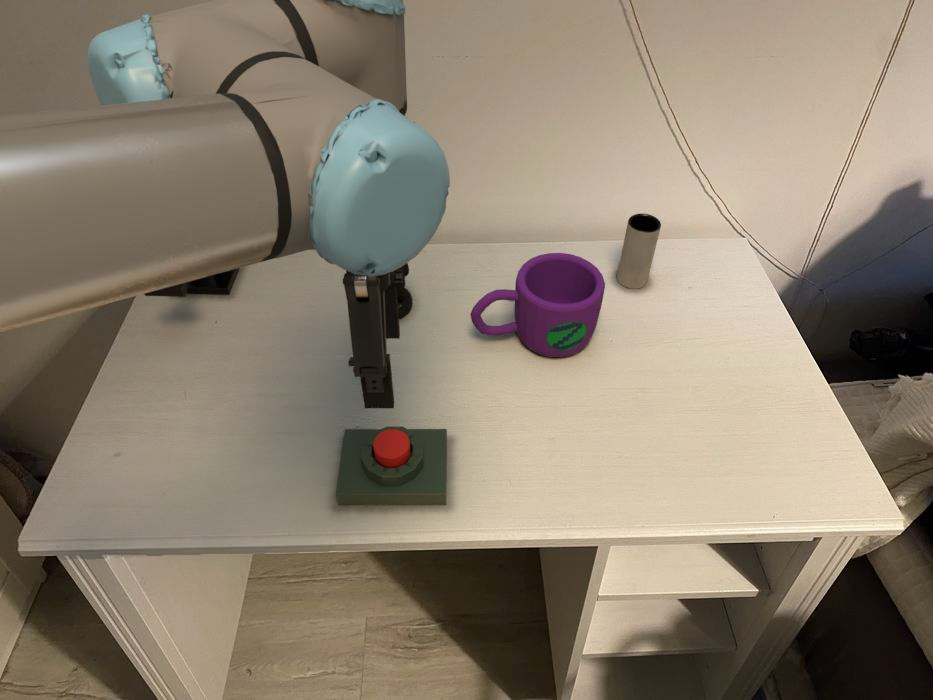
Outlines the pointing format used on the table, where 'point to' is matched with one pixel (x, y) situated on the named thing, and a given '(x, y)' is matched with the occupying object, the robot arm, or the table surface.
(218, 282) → the switch bracket
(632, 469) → the table surface
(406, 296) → the webcam
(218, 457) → the table surface
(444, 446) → the button block
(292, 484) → the table surface
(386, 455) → the red button
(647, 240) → the grey hollow cylinder
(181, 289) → the switch lever
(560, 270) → the mug
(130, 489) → the table surface
